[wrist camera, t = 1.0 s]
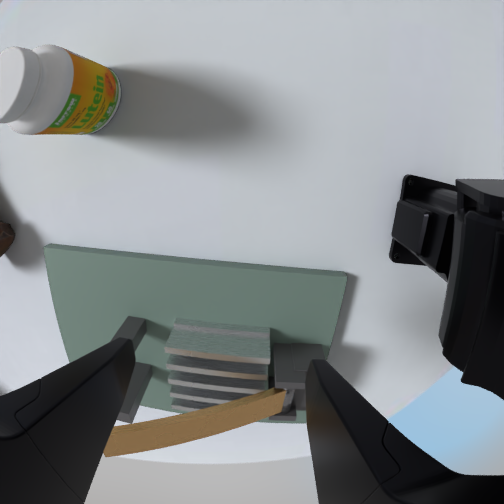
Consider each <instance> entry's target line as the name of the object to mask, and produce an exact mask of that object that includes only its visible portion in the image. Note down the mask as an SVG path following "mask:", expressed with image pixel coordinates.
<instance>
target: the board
mask: <svg viewBox="0 0 504 504" xmlns="http://www.w3.org/2000/svg"><path fill="white" fill-rule="evenodd" d="M43 248H44V256H45V262H46V268H47V274H48V280H49V285H50V290H51V295H52V300H53V304H54V309H55V313H56V317H57V321H58V325H59V329H60V332H61V336H62V339H63V343H64V346H65V350H66V353H67V356H68V359H69V362H70V363H71V362H73V361H74V360H76V359H78V358H80V357H82V356H84V355H86V354H88V353H90V352H92V351H94V350H95V349H97V348H99V347H101V346H103V345H105V344H107V343H109V342H110V341H111V339H112V338H113V337H114V335H115V334H116V332H117V331H118V329H119V328H120V327H121V325H122V324H123V322H124V321H125V320H126V318H127V317H128V316H133V317H139V318H145V319H146V328H147V332H146V334H145V335H144V337H143V339H142V341H141V342H140V344H139V346H138V348H137V349H136V351H135V357H136V362H140V363H145V364H151V366H152V373H153V375H152V377H151V380H150V382H149V384H148V387H147V389H146V391H145V394H144V396H143V398H142V401H141V403H140V405H141V406H145V407H150V408H155V409H160V410H165V411H171V412H176V413H182V414H184V413H188V412H189V411H182V410H177V409H172V407H171V404H172V401H173V398H174V397H170V390H171V387H172V384H169V383H168V377H169V374H170V371H171V369H167V367H166V363H167V360H168V358H169V355H170V353H165V348H164V347H165V344H166V342H167V340H168V338H169V336H170V333H171V331H172V329H173V327H174V322H175V320H176V318H183V319H191V320H199V321H208V322H217V323H226V324H237V325H247V326H259V327H270V364H268V377H269V376H271V377H275V375H274V355H273V347H274V343H286V344H291V343H306V344H321V345H322V348H323V352H324V356H325V359H326V360H327V357H328V353H329V350H330V346H331V343H332V339H333V335H334V332H335V328H336V324H337V320H338V316H339V312H340V308H341V304H342V300H343V295H344V291H345V287H346V282H347V278H348V277H347V276H346V274H345V272H341V271H329V270H317V269H305V268H293V267H282V266H270V265H259V264H248V263H237V262H226V261H215V260H205V259H194V258H184V257H174V256H163V255H153V254H143V253H134V252H124V251H114V250H105V249H95V248H86V247H77V246H68V245H59V244H48V245H46V246H45V247H43ZM268 377H267V380H265V390H268ZM296 414H297V417H296V420H295V421H273V420H268V417H267V418H264V419H261V420H259V421H256V422H267V423H306V422H307V421H306V411H296Z"/></svg>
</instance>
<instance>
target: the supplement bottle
mask: <svg viewBox="0 0 504 504" xmlns="http://www.w3.org/2000/svg"><path fill="white" fill-rule="evenodd" d="M120 97H121V87H120V82H119V79H118V77H117V76H116V74H115V73H114V72H113V71H112V70H110V69H109V68H107V67H105V66H103V65H101V64H98V63H96V62H94V61H92V60H89V59H87V58H85V57H83V56H80V55H78V54H75V53H73V52H71V51H68V50H67V49H64V48H62V47H59V46H55V45H42V46H39V47H36V48H34V49H32V50H30V49H25V48H20V47H10V48H7V49H5V50H4V51H2V52H1V53H0V123H7V124H8V125H9V127H10V128H11V129H12V130H14V131H15V132H17V133H20V134H27V135H37V134H74V135H83V134H90V133H94V132H96V131H98V130H100V129H101V128H103V127H104V126H105V125H106V124H107V123H108V122H109V121H110V120H111V119H112V117H113V116H114V114H115V112H116V110H117V108H118V105H119V102H120Z"/></svg>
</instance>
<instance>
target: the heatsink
mask: <svg viewBox="0 0 504 504" xmlns="http://www.w3.org/2000/svg"><path fill="white" fill-rule="evenodd" d="M164 348H165V353H170V355H169V358H168V360H167V363H166V367H167V369H171V371H170V374H169V377H168V383H169V384H172V387H171V390H170V397H174V398H173V401H172V404H171V407H172V409H177V410H182V411H189V412H192V411H197V410H201V409H204V408H208V407H212V406H216V405H219V404H223V403H227V402H230V401H233V400H237V399H240V398H243V397H247V396H250V395H253V394H256V393H259V392H262V391H265V380H267V377H268V364H270V327H259V326H247V325H237V324H226V323H217V322H208V321H199V320H191V319H183V318H176V320H175V322H174V327H173V329H172V331H171V333H170V336H169V338H168V340H167V342H166V344H165V347H164Z"/></svg>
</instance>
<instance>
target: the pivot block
mask: <svg viewBox="0 0 504 504" xmlns="http://www.w3.org/2000/svg"><path fill="white" fill-rule="evenodd" d="M273 355H274V375H275V377H271V376H269V377H268V389H271V388H274V387H275V388H283V389H295V393H294V396H293V400H292V404H291V408H290V411H289V413H287V414H280V413H277V414H275V415H272V416H270V417H268V420H273V421H295V420H296V417H297V414H296V411H306V393H305V379H306V375H307V371H308V367H309V363H310V361H311V359H313V358H316V359H325V356H324V352H323V348H322V345H321V344H306V343H291V344H286V343H274V347H273ZM325 360H326V359H325Z"/></svg>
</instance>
